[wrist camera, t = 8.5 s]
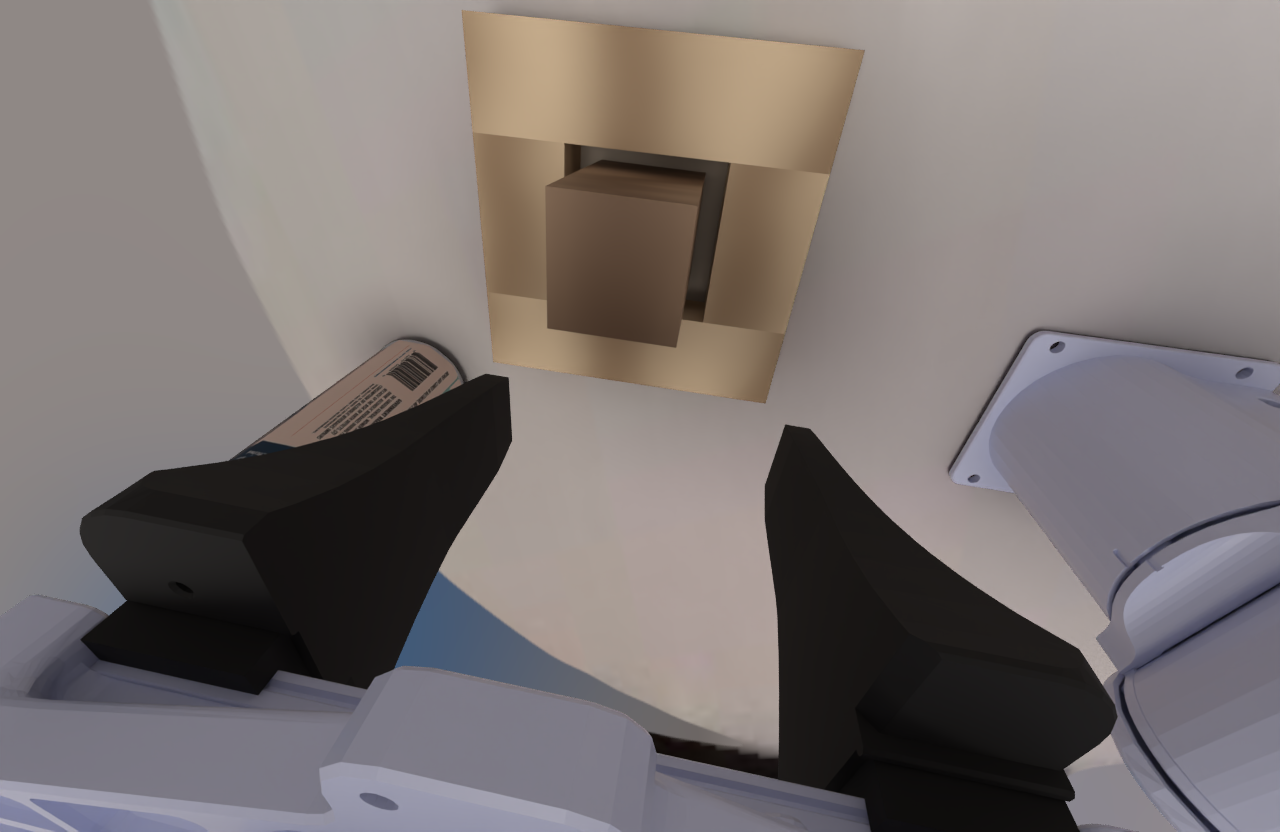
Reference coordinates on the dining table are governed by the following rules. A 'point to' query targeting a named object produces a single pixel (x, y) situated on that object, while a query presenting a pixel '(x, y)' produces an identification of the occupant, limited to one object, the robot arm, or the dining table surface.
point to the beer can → (365, 396)
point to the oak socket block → (664, 137)
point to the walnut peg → (621, 250)
